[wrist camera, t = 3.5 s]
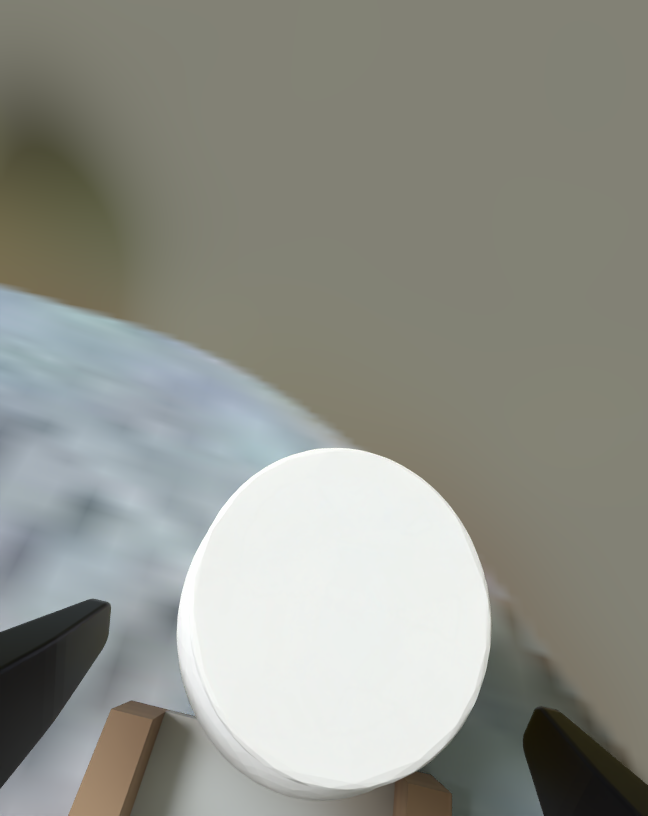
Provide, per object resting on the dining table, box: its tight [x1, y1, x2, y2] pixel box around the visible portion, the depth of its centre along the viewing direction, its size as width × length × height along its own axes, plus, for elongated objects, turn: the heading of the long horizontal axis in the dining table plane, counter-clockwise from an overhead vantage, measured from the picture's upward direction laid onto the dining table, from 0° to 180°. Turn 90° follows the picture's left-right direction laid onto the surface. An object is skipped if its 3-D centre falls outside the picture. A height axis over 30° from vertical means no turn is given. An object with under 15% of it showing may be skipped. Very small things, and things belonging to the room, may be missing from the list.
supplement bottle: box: [177, 448, 492, 801], centre depth 11 cm, size 7×7×13 cm
